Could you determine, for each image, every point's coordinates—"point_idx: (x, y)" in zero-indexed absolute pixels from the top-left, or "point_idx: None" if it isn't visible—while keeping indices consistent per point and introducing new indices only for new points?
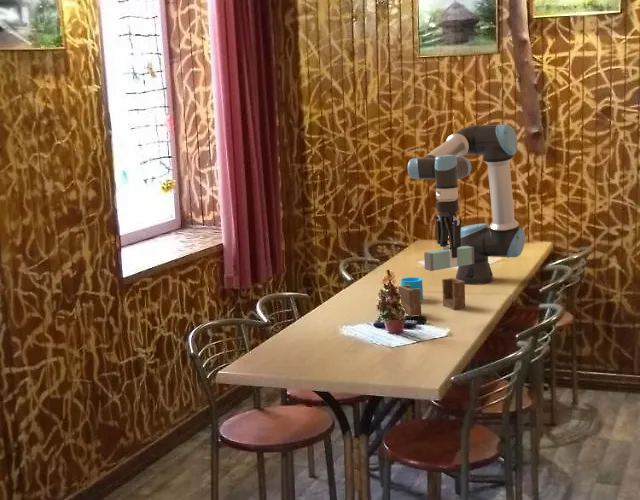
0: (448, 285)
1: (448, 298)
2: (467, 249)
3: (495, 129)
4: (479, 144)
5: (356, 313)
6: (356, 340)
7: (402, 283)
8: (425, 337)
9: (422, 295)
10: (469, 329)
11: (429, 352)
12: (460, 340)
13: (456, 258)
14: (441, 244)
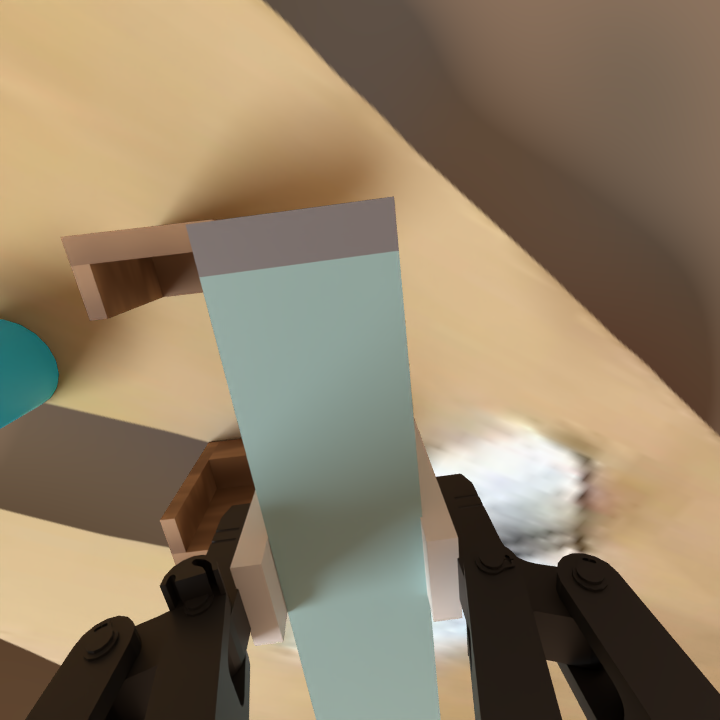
0: (120, 277)
1: (172, 279)
2: (401, 326)
3: None
4: None
5: (157, 590)
6: (461, 658)
7: None
8: (554, 515)
9: (6, 335)
10: (568, 363)
11: (688, 555)
12: (657, 444)
13: (425, 455)
14: (239, 679)
